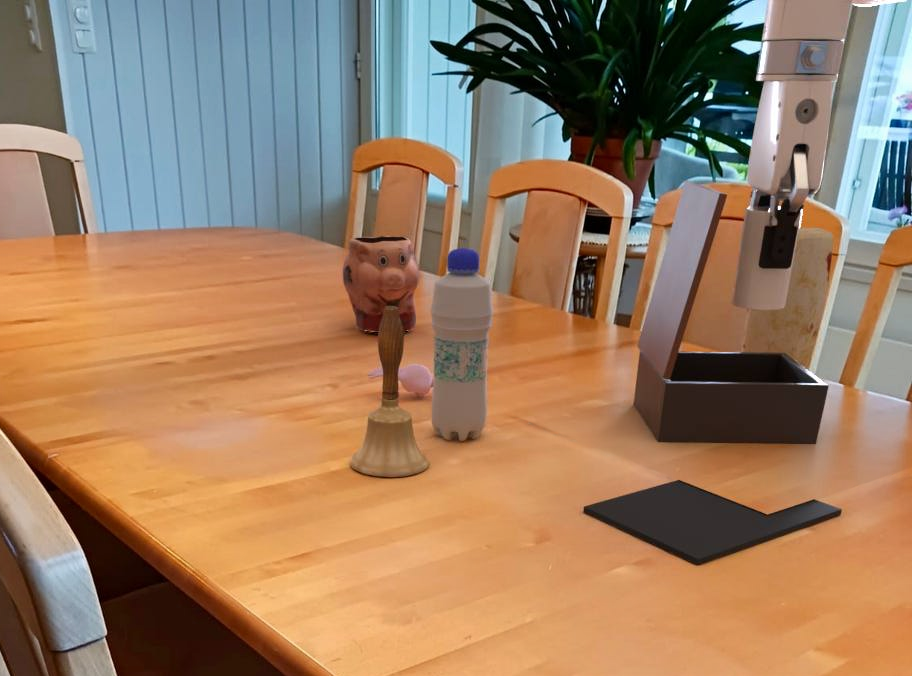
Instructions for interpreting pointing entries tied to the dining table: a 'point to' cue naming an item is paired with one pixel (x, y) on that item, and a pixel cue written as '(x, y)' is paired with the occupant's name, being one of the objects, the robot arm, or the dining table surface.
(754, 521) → the mat
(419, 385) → the rabbit figure
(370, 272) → the decorative planter
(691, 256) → the open box lid
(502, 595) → the dining table surface
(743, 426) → the hinged jewelry box
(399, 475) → the hand bell
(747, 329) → the food model
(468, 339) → the bottle
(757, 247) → the tall white cylinder
